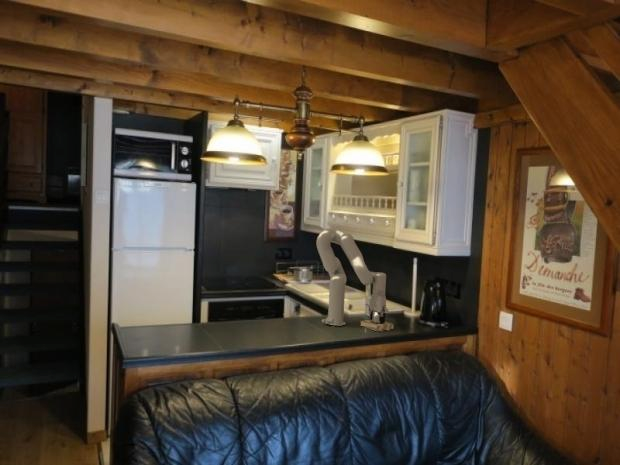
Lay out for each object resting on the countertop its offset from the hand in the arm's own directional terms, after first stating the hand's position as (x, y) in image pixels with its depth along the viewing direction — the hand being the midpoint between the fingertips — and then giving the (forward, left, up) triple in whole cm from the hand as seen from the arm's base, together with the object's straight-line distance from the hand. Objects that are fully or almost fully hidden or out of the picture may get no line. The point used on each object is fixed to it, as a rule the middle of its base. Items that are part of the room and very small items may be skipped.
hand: (377, 321), depth 300 cm
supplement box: (+20, +26, -5) cm, 33 cm away
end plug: (0, 0, -4) cm, 4 cm away
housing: (0, 0, -4) cm, 4 cm away
